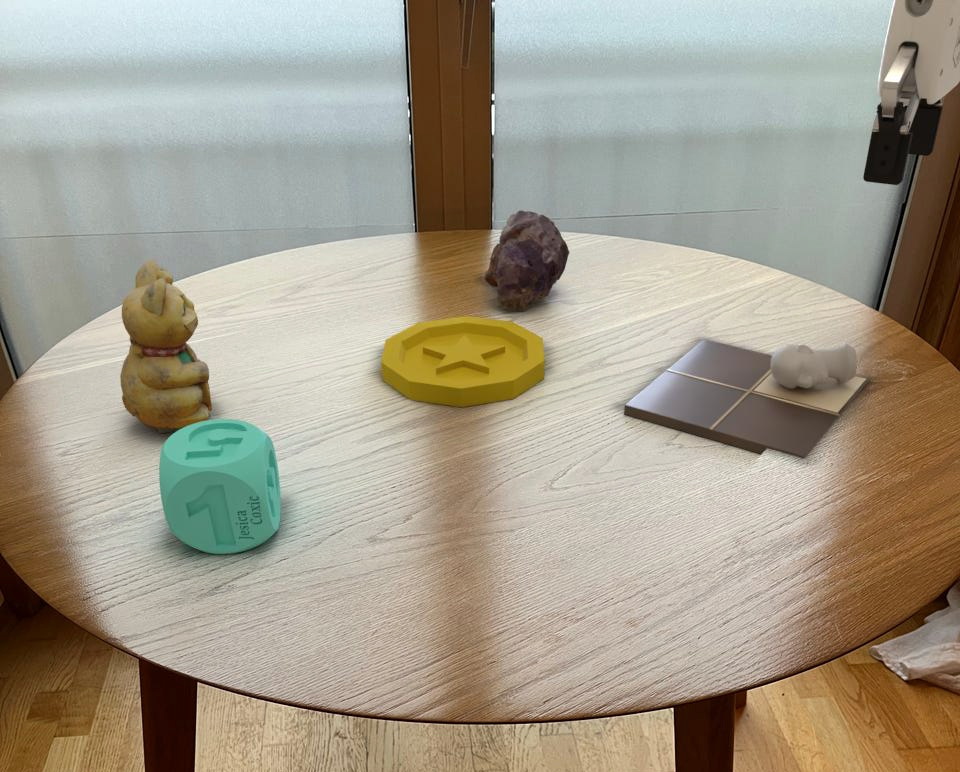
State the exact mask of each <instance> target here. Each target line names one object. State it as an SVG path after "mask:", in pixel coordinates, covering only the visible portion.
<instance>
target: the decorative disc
mask: <svg viewBox="0 0 960 772" xmlns="http://www.w3.org/2000/svg"><path fill="white" fill-rule="evenodd" d="M380 364H381V365H380V367H381V378H382V382H385V383H386V384H387V385H388V386H390V387H392V388H393V389H395V390H396V391H397V392H399V393H400V394H401V395H403V396H405V397H406V398H407V399H409V400H410V401H416V402H422V403H423V402H424V403H431V404H437V405H444V406H451V407H458V408H465V407H470V406H471V407H472V406H478V405H484V404H490V403H495V402H503V401H509V400H514V399H515V398H517V397H518V396H520V395H522V394H523V393H525V392H527V390H529V389H532V387H533V386H536V385H537V384H538V383H540V382H541V381H543V380H544V379H545V347H544V338H543V337H542V336H540V335H538V334H536V333H534V332H532V331H530V330H529V329H527V328H525V327H523V326H521V325H519V324H518V323H516V322H514V321H509V320H501V319H494V318H487V317H485V318H484V317H476V316H469V315H462V316H456V317H449V318H442V319H435V320H428V321H427V320H426V321H420V322H416V323H415V324H413V325H411V326H409V327H408V328H405V329H403V330H401V331H399V332H398V333H395V334H394V335H392V336H390V337H388V338H386V339H385V341H384V346H383V351H382V356H381V361H380Z"/></svg>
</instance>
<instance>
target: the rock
mask: <svg viewBox="0 0 960 772" xmlns="http://www.w3.org/2000/svg"><path fill="white" fill-rule="evenodd" d="M550 219H551V218H549V217H547V216H546V215H544V214H538V213H537V212H534V211H528V210H527V211H525V210H523V209H521V210H518V211H517V212H516V213H513V214H510V216H509V217H508V218H507V220H506V224H505V225H504V226H503V227H502V230H501V232H500V236H499V240H498V242H499V243H497V244H496V245H495V246H494V247H493V249H492V253H491V255H490V257H489V266H488V269H487V270H486V271H484V275H483V278H484V280H485V282H486V283H487V284H488V285H490V286H491V287H492V288H497V292H498V293H497V294H498V295H497V305H498V306H499V307H500V308H503V309H505V310H508V311H510V312H511V311H513V312H525V311H527V310H529V308H531V307H532V306H534V305H535V304H536V301H538V300H540V299H545V298H548V297H549V295H550V293H551V290H552V288H553V286H554V285H555V284H556V283H557V281H559V280H560V279H561V277H562V275H563V274H564V272H565V269H566V265H567V262H568V259H569V255H570V249H569V247H568V244H567V243H566V241H565V239H564V238H563V236H562V234H561V231H560V230H559V229H558V227H557V226H556V225H555V222H554V221H553V220H550Z"/></svg>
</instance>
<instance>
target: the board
mask: <svg viewBox="0 0 960 772" xmlns="http://www.w3.org/2000/svg"><path fill="white" fill-rule="evenodd" d="M771 358H772V355H771V354H768V353H763V352H760V351H759V352H758V351H755V350H750V349H746V348H743V347H739V346H734V345H731V344H726V343H721V342H718V341H714V340H709V339H705V338H703V339H701V341H699V343H697V344H696V345H694V347H692V348H691V349H690V350H689V351H688V352H686V353H685V354H683V356H682V357H680V359H678V360H677V361H676V362H674V363H673V364H672V365H671V366H669V367H668V368H666V369H665V371H664V372H662V374H660V375H659V376H658V377H657V378H655V379H654V380H653V381H652V382H650V383H649V384H648V385H647V386H646V387H644V388H643V389H642V390H641V391H639V392H638V394H636V395H635V396H634V397H632V398H631V399H630V400H629V401H628V402H627V403H626V404H624V408H623V409H624V410H623V414H624V415H626V416H629V417H633V418H636V419H639V420H643V421H645V422H646V421H647V422H649V423H654V424H657V425H660V426H664V427H667V428H670V429H675V430H678V431H682V432H684V433H688V434H691V435H694V436H699V437H701V438H705V439H708V440H712V441H715V442H718V443H722V444H725V445H729V446H733V447H736V448H740V449H743V450H746V451H750V452H753V453H756V454H761V455H763V453H764V452H765V451H766V450H767V449H769V450H772V451H777V452H779V453H783V454H787V455H789V456H794V457H797V458H801V459H806V457H807V456H808V455H809V454H810V453H811V452H812V450H813V449H814V448H815V446H817V444H818V443H819V442H820V441H821V440H822V438H823V437H824V436H825V435H826V434H827V432H828V431H829V430H830V429H831V428H832V427H833V426H834V424H835V423H836V422H837V421H838V420H839V418H841V416H842V415H843V413H844V412H845V411H846V410H848V407H850V405H851V404H852V403H853V402H854V400H855V399H856V398H857V397H858V396H859V394H860V393H862V391H863V390H864V389H865V388H866V386H867V385H868V384H869V383H870V380H871V379H870V378H865V377H861V376H857V375H855V376H854V378H852V379H851V380H849V381H848V382H846V383H844V384H841V383H839V382H838V381H837V380H836V379H834V378H828V379H827V382H826V383H824V384H817V385H815V386H811V387H810V388H803V387H799V386H797V387H795V388H793V389H789V388H786V387H784V386H783V385H781V384H779V383H778V382H777V381H776V380H775V379H774V377H773V375H772V372H771V366H770V365H771Z"/></svg>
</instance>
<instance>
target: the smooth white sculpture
mask: <svg viewBox="0 0 960 772" xmlns="http://www.w3.org/2000/svg"><path fill="white" fill-rule="evenodd" d="M771 356H772V358H771V365H770V366H771V372H772V375H773V377H774V379H775V380H776V381H777V382H778V383H779V384H781V385H783V386H784V387H786V388H789V389H793V388H795V387H797V386H799V387H803V388H810V387H811V386H815V385H817V384H824V383H826V382H827V379H828V378H834V379H836V380H837V381H838V382H839V383H841V384H844V383H846V382H848V381H849V380H851V379H852V378H854V376H856V374H857V366H858V361H857V352H856V349H855V348H854V347H853V346H851V345H849V344H848V343H846V342H842V343H840V344H839V345H837V346H835V347H833V348H832V347H831V348H828V349H814V348H813V349H812V348H811V347H810V346H808V345H805V344H800V345H799V344H794V343H789V344H788V343H787V344H784V345H781V346H779V347H777V348H776V349H775V350H774V352H773V354H772V355H771Z"/></svg>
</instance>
